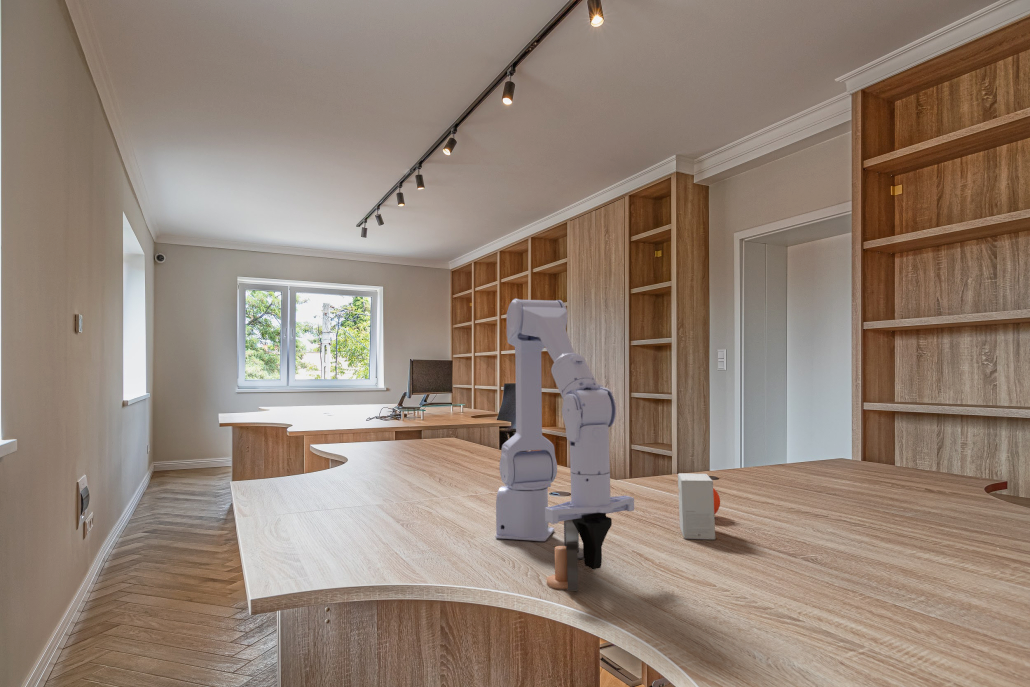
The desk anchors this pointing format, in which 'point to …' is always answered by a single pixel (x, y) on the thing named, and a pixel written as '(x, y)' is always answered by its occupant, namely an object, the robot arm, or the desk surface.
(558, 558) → the post
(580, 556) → the gate post
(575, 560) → the gate leaf
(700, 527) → the small box
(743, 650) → the desk surface
